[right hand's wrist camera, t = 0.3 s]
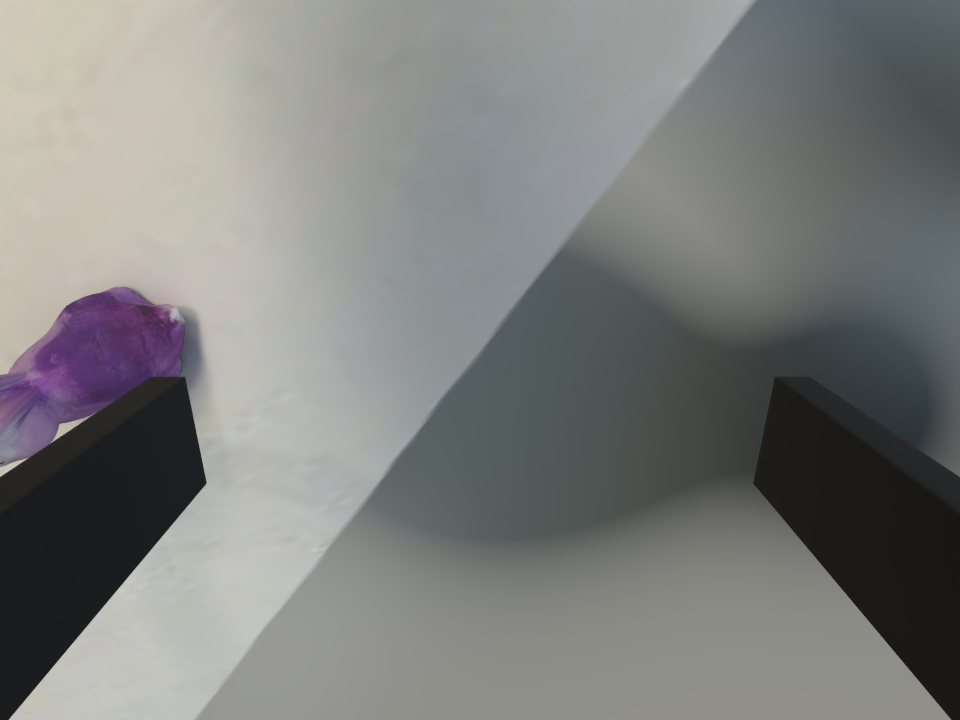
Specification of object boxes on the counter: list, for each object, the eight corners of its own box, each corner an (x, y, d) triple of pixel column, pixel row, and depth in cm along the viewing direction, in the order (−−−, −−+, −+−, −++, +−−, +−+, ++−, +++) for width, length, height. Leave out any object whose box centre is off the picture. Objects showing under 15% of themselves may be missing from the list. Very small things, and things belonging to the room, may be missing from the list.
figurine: (68, 397, 43) (-136, 515, 28) (64, 270, 39) (-170, 334, 25) (191, 422, 43) (52, 549, 29) (197, 299, 40) (44, 377, 26)
